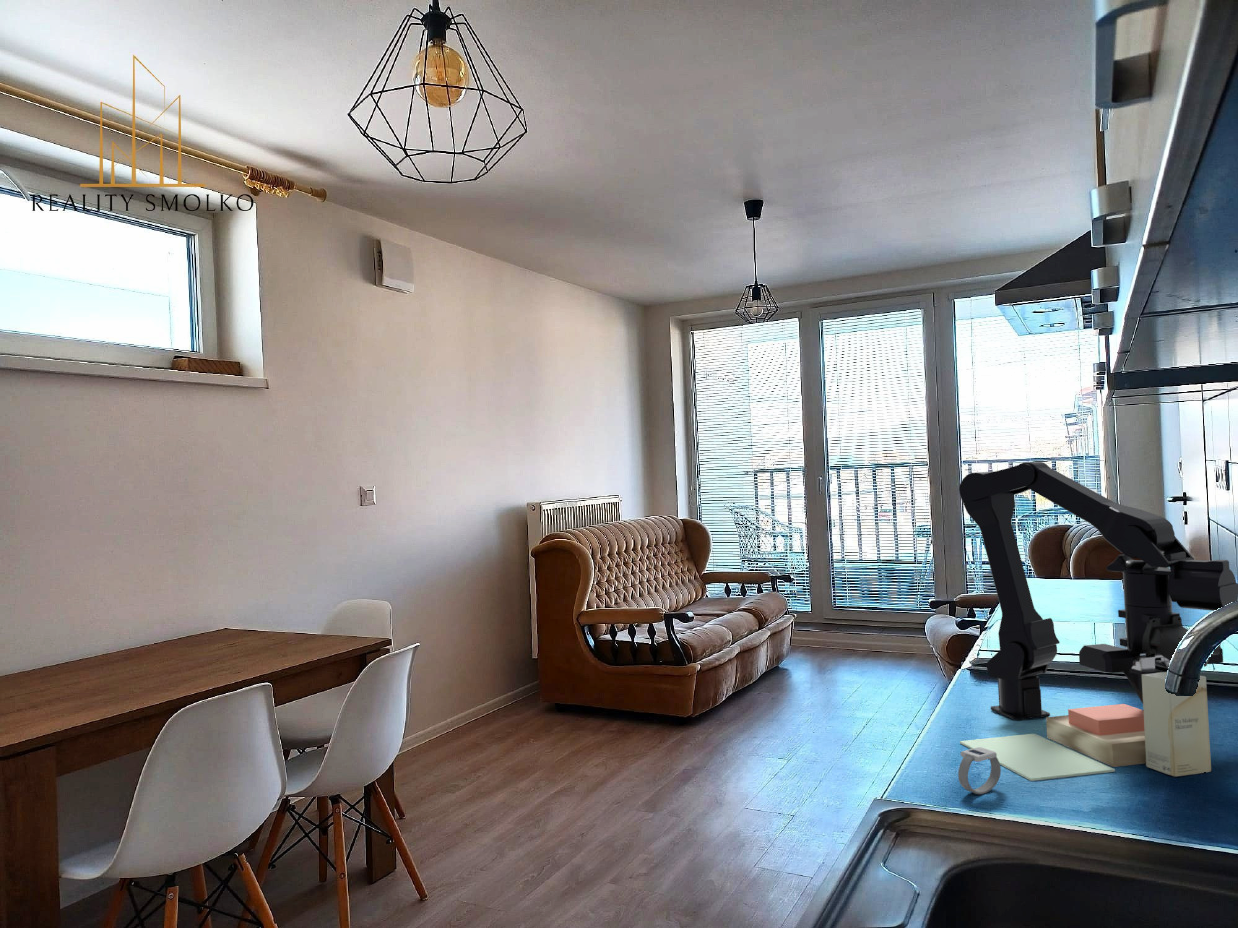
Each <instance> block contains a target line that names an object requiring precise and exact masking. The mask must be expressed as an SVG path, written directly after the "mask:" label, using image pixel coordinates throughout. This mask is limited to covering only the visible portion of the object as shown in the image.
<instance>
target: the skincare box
mask: <svg viewBox="0 0 1238 928" xmlns="http://www.w3.org/2000/svg"><path fill="white" fill-rule="evenodd" d="M1166 676H1167V672H1159V673H1152V674H1142V691H1143V704H1142V707H1143V709H1142V710H1143V711H1144V730H1145V750H1146V763H1145V766H1146V767H1147V768H1150V769H1152V770H1155V771H1156V772H1159V773H1163V774H1166V775H1168V776H1171V777H1183V776H1191V775H1198V774H1204V772H1206V773H1209V772H1212V763H1211V762H1212V761H1211V758H1212V757H1211V741H1210V724H1209V708H1208V691H1207V690H1208V689H1207V677H1206V676H1205V675H1200V680H1199V682H1198V687H1197V689H1196V693H1195V694H1194V695H1193V696H1176V695H1175V694H1171V693H1168V692H1167V691H1166V689H1165V678H1166Z"/></svg>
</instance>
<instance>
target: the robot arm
mask: <svg viewBox="0 0 1238 928" xmlns="http://www.w3.org/2000/svg"><path fill="white" fill-rule="evenodd" d="M1029 490H1031V492H1034V493H1035V494H1037V495H1039V496H1041V497H1043V498H1045V499H1046V500H1048V501H1049V502H1052V503H1053V504H1055V505H1057V506H1058V507H1060V508H1062V509H1064V510H1066V511H1067V512H1069V513H1071V514H1072V515H1074V516H1076V517H1078V518H1080V519H1082V520H1083V521H1085V522H1087V523H1088V524H1090V525H1091V526H1093V527H1094V529H1096V530H1097V531H1098V532H1099V534H1100V535H1101V536H1102V537H1103V539H1104V540H1105V541H1106V542H1107V543H1108V544H1110V545H1111V546H1112V547H1113V548H1115V549H1116V550H1117V551H1118V552H1120V553H1121V554H1119V555H1117V557H1116V558H1115V560H1114V561H1112V562H1111V563H1110V564H1109V565H1107V566H1106V567H1105V568H1106V570H1107V571H1108V572H1115V573H1117V572H1118V573H1122V580H1123V582H1122V583H1123V601H1124V602H1123V603H1124V609H1118V610H1117V613H1118V616H1117V617H1118V618H1122V619H1125V637H1120V638H1119V646H1122V647H1119V646H1115V645H1111V644H1107V643H1098V644H1085V645H1082V647H1081V648H1080V650H1079V652H1078V657H1079V658H1078V659H1079V665H1080V666H1084V667H1087V668H1091V669H1093V670H1096V671H1101V672H1103V673H1110V674H1113V673H1114V674H1115V673H1116V674H1117V673H1123V674H1124V675H1125V677H1126V679H1127V680H1128V681H1129V682H1130V685H1131V686H1132V688H1133V689H1134V691H1135V693H1136V695H1137V696H1138V698H1139V700H1140V702H1141V703H1142V705H1143V691H1142V674H1152V673H1159V672H1167V670H1168V667H1169V663H1170V660H1171V658H1172V655H1173V654H1174V652H1175V649H1176V648H1177V646H1178V644H1179V642H1180V641H1181V640H1182V638H1183V636H1184V635H1185V634H1186V632H1187V631H1188V630H1189V629H1188V628H1185V626H1184V625H1183V622H1182V621H1183V620H1182V617H1181V614H1180V613H1178V612H1173V606H1172V605H1173V603H1176V604H1177V606H1178V607H1180V608H1181V609H1190V610H1191V609H1192V610H1200V611H1201V610H1203V611H1213V612H1215V611H1214V610H1217V609H1218V608H1221V607H1224V606H1225V605H1227V604H1229V603H1231V602H1235V601H1237V602H1238V582H1237V580H1236V577H1235V574H1234V572H1233V571H1232V570H1231V569H1230V561H1229V560H1228V559H1214V560H1206V559H1204V560H1203V559H1202V560H1201V559H1195V558H1194V557H1193V555H1192V554H1191V553H1190V552H1189V551H1188V550H1187V549H1186V547H1185V546H1184V545H1183V544H1182V542H1180V540H1178V538H1177V536H1176V535H1175V531H1174V526H1173V524H1172V523H1171V522H1170V521H1169V520H1168V519H1166V518H1165V517H1163V516H1160V515H1158V514H1154V513H1152V512H1148V511H1146V510H1143V509H1139V508H1137V507H1132V506H1128V505H1123V504H1120V503H1118V502H1115V501H1113V500H1111V499H1109V498H1107V497H1105V496H1104V495H1102V494H1099V493H1098V492H1095V491H1094V490H1092V489H1090V488H1089V487H1087V486H1085V485H1083V484H1081V483H1080V482H1078V481H1075V480H1073V479H1072V478H1070V477H1068V476H1066V475H1065V474H1062V473H1061V472H1059V471H1057V470H1055V469H1053V468H1051V467H1050V466H1049V465H1047V463H1045V462H1043V461H1026V462H1024V461H1023V462H1022V463H1019V464H1017V465H1014V466H1011V467H1008V468H1004V469H999V470H995V471H980V472H979V471H978V472H977V471H976V472H971V473H968V474H966V475H965V476H964V477H963V478H962V480H961V482H960V483H959V486H958V493H959V497H960V499H961V501H962V503H963V504H962V505H963V506H964V508H965V510H966V513H967V514H968V516H969V517H970V518H971V519H972V520H973V522H974V523H975V524H976V525H977V526H978V528H979V531H980V534H981V538H982V540H983V545H984V548H985V549H984V550H985V553H986V556H987V560H988V565H989V568H990V572H991V576H992V579H993V582H994V583H993V584H994V587H995V591H996V595H997V600H998V603H999V607H1000V610H1001V611H1000V612H1001V620H1000V622H999V623H1000V624H999V628H998V629H999V630H998V633H997V635H998V643H999V644H998V645H999V651H998V652H996V654H994V655H993V656H992V657H991V658H990V659H989V660H988V661H987V662H985V667H986V669H987V672H988V675H989V677H990V678H995V679H997V687H998V688H997V691H998V705H993V706H992V705H991V706H990V710H991V711H994V712H995V713H998V714H1000V715H1002V716H1005V717H1007V718H1009V719H1012V720H1017V721H1018V720H1025V719H1026V720H1027V719H1034V718H1035V719H1036V718H1045V717H1051V713H1050V712H1049V711H1046V710H1043V705H1042V690H1041V684H1040V681H1041V680H1040V678H1039V675H1041V674H1046V673H1047V671H1048V668H1049V665H1050V664H1051V662H1053V661H1054V659H1055V657H1056V656H1057V655H1058V647H1057V645H1058V644H1060V643H1061V642H1060V640H1059V639H1058V637H1057V634H1056V633H1055V625H1054V624H1055V623H1054V621H1053V619H1052V618H1051V617H1049V618H1044V619H1043V617H1042V616H1041V615H1040V614H1039V613H1038V611H1037V610H1036V608H1035V606H1034V602H1033V598H1032V593H1031V591H1030V588H1029V587H1030V586H1029V584H1028V580H1027V575H1026V571H1025V568H1024V565H1023V561H1022V558H1021V553H1020V550H1019V546H1018V542H1017V540H1016V536H1015V535H1016V534H1015V531H1014V528H1013V522H1012V519H1013V515H1014V511H1015V506H1016V500H1015V496H1016V495H1018V494H1022V493H1025V492H1028V491H1029ZM1135 559H1136V560H1135ZM1137 559H1140V560H1137ZM1172 602H1173V603H1172ZM1123 647H1125V648H1123ZM1223 663H1224V651H1223V647H1222V646H1221V643H1220V645H1219V646H1218V647H1217V648H1216V649H1215V650H1214V652H1213V654H1211V657H1209V658H1208V660H1207V662H1206V663H1205V664H1204V668H1205V667H1207V666H1208V665H1213V664H1223Z"/></svg>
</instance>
